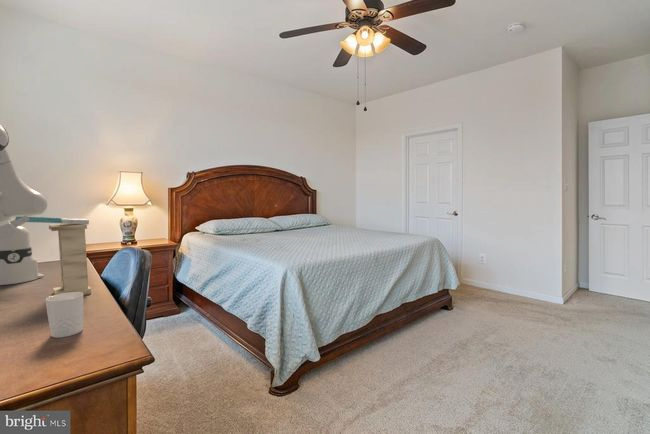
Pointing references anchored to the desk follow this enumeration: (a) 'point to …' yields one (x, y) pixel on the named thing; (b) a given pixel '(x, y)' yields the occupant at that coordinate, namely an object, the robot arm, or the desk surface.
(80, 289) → the pedestal stand
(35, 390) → the desk surface
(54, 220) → the turner
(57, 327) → the white cup
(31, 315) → the desk surface
